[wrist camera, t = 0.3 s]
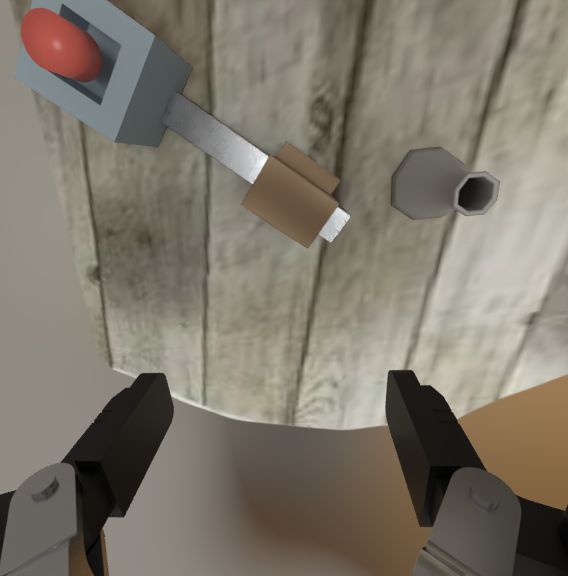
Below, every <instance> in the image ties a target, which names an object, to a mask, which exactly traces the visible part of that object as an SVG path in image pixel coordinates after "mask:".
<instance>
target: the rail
mask: <svg viewBox="0 0 568 576" xmlns="http://www.w3.org/2000/svg"><path fill="white" fill-rule="evenodd" d="M160 122H162V123H163V124H165V125H166V126H168V127H169V128H170V129H172V130H173V131H175V132H176V133H178V134H179V135H181V136H182V137H184V138H185V139H187V140H188V141H190V142H191V143H193V144H194V145H196V146H197V147H198V148H200V149H201V150H203V151H204V152H206V153H207V154H209V155H210V156H212V157H213V158H215V159H216V160H218V161H219V162H221V163H222V164H224V165H225V166H227V167H228V168H229V169H231V170H232V171H234V172H235V173H237V174H238V175H240V176H241V177H243V178H244V179H246V180H247V181H249V182H250V183H252V184H253V183H254V181H255V180H256V178H257V176H258V174H259V173H260V171H261V169H262V168H263V166H264V164H265V162H266V161H267V159H268V157H269V156H268V155H267V154H266V153H264V152H263V151H261V150H260V149H258V148H257V147H256V146H254V145H253V144H251V143H250V142H249V141H247V140H246V139H244V138H243V137H241V136H240V135H239V134H237V133H236V132H234V131H233V130H231V129H230V128H229V127H227V126H226V125H224V124H223V123H222V122H220V121H219V120H217V119H216V118H214V117H213V116H212V115H210V114H209V113H207V112H206V111H205V110H203V109H202V108H200V107H199V106H197V105H196V104H195V103H193V102H192V101H190V100H189V99H187V98H186V97H185V96H183V95H182V94H180V93H178V92H177V91H175V90H173V91H172V94H171V96H170V98H169V101H168V103H167V105H166V108H165V110H164V112H163V115H162V117H161V119H160ZM350 217H351V216H350V215H349V214H348V213H347V212H346V210H345V209H344V208H342V207H341V206H338V207H337V208H336V210H335V211H334V213H333V214H332V215H331V217H330V218H329V220H328V221H327V222H326V224H325V225H324V227H323V228H322V230H321V231H320V232H319V235H320V236H322V237H323V238H325V239H326V240H328V241H329V242H332V241H333V240H334V238H335V237H336V236H337V234H338V233H339V232H340V230H341V229H342V227H343V226H344V225H345V223H346V222H347V221H348V219H349V218H350Z"/></svg>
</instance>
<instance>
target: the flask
mask: <svg viewBox="0 0 568 576" xmlns="http://www.w3.org/2000/svg"><path fill="white" fill-rule="evenodd" d="M499 183H500V181H499V180H497V179H496V178H495V177H493V176H492V175H490V174H489V173H488V172H485V171H484V172H475V173H469V172H468V171H467V169H466V167H465V165H464V163H463V162H461V161H460V160H458V159H457V158H456V157H454V156H453V155H451V154H450V153H449V152H447V151H446V150H444V149H443V148H442V147H436V148H427V149H418V150H411V151H410V152H409V153H408V155H407V156H406V158H405V159H404V161H403V162H402V164H401V165H400V166H399V168H398V169H397V171H396V172H395V174H394V175H393V176H392V206H393V207H394V208H396V209H397V210H399V211H400V212H402V213H403V214H405V215H407V216H408V217H410V218H411V219H413V220H417V219H427V218H438V217H442V216H444V215H446V214H448V213H450V212H451V211H454V210H457V211H459V212H460V213H462V214H463V215H465V216H473V215H483V214H485V213H486V212H487V211H488V210H489V208H490V207H491V206H492V205H493V204H494V202H495V201H496V200H497V197H498V190H499Z"/></svg>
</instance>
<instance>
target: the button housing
mask: <svg viewBox="0 0 568 576" xmlns="http://www.w3.org/2000/svg"><path fill="white" fill-rule="evenodd" d="M34 8H46V9H49V10H51V11H53V12H54V13H56V14H58V15H59V16H61V17H63V18H64V19H66V20H68V21H69V22H71V23H73V24H74V25H76V26H78V27H79V28H81V29H83V30H84V31H86V32H87V33H89V34H90V35H91V36H92V37H93V38H94V40H95V41H96V43H97V44H98V46H99V49H100V52H101V56H102V67H101V71H100V73H99V75H98V76H97V77H96V78H95V79H94V80H92V81H90V82H79V81H76V80H73V79H71V78H68V77H65V76H62V75H60V74H57V73H54V72H51V71H48V70H46V69H44V68H42V67H40V66H39V65H37V64H36V63H35V62H34V61H33V60H32V59H31V57H30V56H29V54H28V53H27V51H26V49H25V47H24V44H23V42H22V46H21V51H20V55H19V59H18V63H17V67H16V71H15V75H14V78H16V79H17V80H19V81H20V82H22V83H24V84H25V85H27V86H28V87H30V88H31V89H33V90H34V91H36V92H37V93H39V94H41V95H42V96H44V97H45V98H47V99H48V100H50V101H51V102H53V103H54V104H56V105H58V106H59V107H61V108H62V109H64V110H65V111H67V112H68V113H70V114H71V115H73V116H75V117H76V118H78V119H79V120H81V121H82V122H84V123H85V124H87V125H88V126H90V127H91V128H93V129H95V130H96V131H98V132H99V133H101V134H102V135H104V136H105V137H107V138H108V139H110V140H112V141H113V142H117V143H126V144H136V145H146V146H156V147H158V146H159V143H160V141H161V139H162V137H163V134H164V132H165V130H166V127H167V126H166V125H165V124H163V123H162V122H160V119H161V117H162V115H163V112H164V110H165V108H166V105H167V103H168V101H169V98H170V96H171V94H172V91H173V90H175V91H177V92H178V93H180V94H181V93H182V91H183V89H184V86H185V84H186V82H187V80H188V77H189V75H190V73H191V71H192V67H191V66H190V65H189V64H188V63H186V62H185V61H184V60H183V59H182V58H181V57H179V56H178V55H177V54H176V53H175V52H174V51H173V50H171V49H170V48H169V47H168V46H167V45H166V44H164V43H163V42H162V41H161V40H160V39H159V38H157V37H156V36H155V35H154V34H152V33H151V32H150V31H148V30H147V29H145V28H144V27H143V26H141V25H140V24H139V23H137V22H136V21H134V20H133V19H132V18H130V17H129V16H128V15H126V14H125V13H123V12H122V11H121V10H119V9H118V8H117V7H115V6H114V5H112V4H111V3H110V2H108V1H107V0H33V1H32V5H31V9H30V10H32V9H34Z"/></svg>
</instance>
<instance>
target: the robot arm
mask: <svg viewBox="0 0 568 576" xmlns="http://www.w3.org/2000/svg"><path fill="white" fill-rule="evenodd" d="M385 408H386V418H387V423H388V426H389V429H390V433H391V436H392V439H393V442H394V445H395V449H396V452H397V455H398V458H399V461H400V465H401V468H402V471H403V474H404V477H405V480H406V484H407V487H408V490H409V493H410V496H411V500H412V503H413V506H414V509H415V512H416V516H417V519H418V522H419V525H420V527H433V528H432V531H431V534H430V536H429V539H428V542H427V544H426V546H425V548H424V547H423V548H422V550H421V552H420V555H419V557H418V560H417V562H416V564H415V567H414V570H413V572H412V575H411V576H568V505H567V508H566V510H565V511H563V510H560V509H556V508H553V507H550V506H546V505H543V504H540V503H536V502H533V501H530V500H527V499H524V498H522V497H520V496H517V495H515V493H514V492H513V491H512V489H511V488H510V487H509V486H508V485H507V484H506V483H505V482H503V481H502V480H501V479H500V478H498V477H497V476H495V475H493V474H492V473H490V472H488V471H487V470H486V469H485V467H484V465H483V463H482V462H481V460H480V458H479V457H478V455H477V453H476V452H475V450H474V448H473V446H472V445H471V443H470V441H469V439H468V438H467V436H466V434H465V433H464V431H463V429H462V427H461V426H460V424H458V421H457V419H456V417H455V415H454V414H453V412H451V409H450V407H449V405H448V403H447V402H446V400H445V398H444V397H443V396H442V395H441V394H440V393H439V392H438V391H436V390H435V389H434V388H433V387H432V386H431V385H420V383H419V381H418V379H417V377H416V375H415V373H414V372H413V371H412V370H389V372H388V379H387V392H386V405H385ZM173 413H174V406H173V402H172V398H171V394H170V390H169V387H168V383H167V379H166V376H165V375H164V374H163V373H142V374H140V375H139V376H138V377H137V379H136V380H135V381H134V383H133V384H132V385H131V387H130V388H125V389H124V390H122V391H121V392H120V393H118V394H117V395H116V396H115V397H113V398H112V399H111V400H110V401H109V403H108V404H107V405H106V406H105V408H104V409H103V410H102V413H100V414H99V415H98V416H97V418H96V419H95V420H94V423H92V424H91V425H90V427H89V428H88V429H87V430H86V432H85V433H84V434H83V435H82V436H81V438H80V439H79V440H78V441H77V443H76V444H75V445H74V446H73V448H72V449H71V450H70V452H69V453H68V454H67V455H66V456H65V458H64V459H63V460H62V462H61V463H57V464H53V465H50V466H47V467H45V468H43V469H41V470H39V471H38V472H36V473H34V474H33V475H32V476H30V477H29V478H28V479H27V480H26V481H24V482H23V483H22V484H21V485H20V487H19V488H18V489H17V490H15V491H11V492H8V493H4V494H1V495H0V576H109V571H108V562H107V554H106V553H107V552H106V544H105V534H104V531H103V529H102V528H103V526H104V524H105V523H106V521H107V518H108V517H124V516H125V514H126V512H127V510H128V508H129V506H130V504H131V502H132V500H133V498H134V496H135V494H136V492H137V490H138V488H139V486H140V484H141V482H142V480H143V478H144V476H145V474H146V472H147V470H148V468H149V466H150V464H151V462H152V460H153V458H154V456H155V454H156V452H157V450H158V448H159V446H160V444H161V442H162V440H163V438H164V436H165V434H166V432H167V430H168V428H169V426H170V424H171V422H172V419H173Z"/></svg>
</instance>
